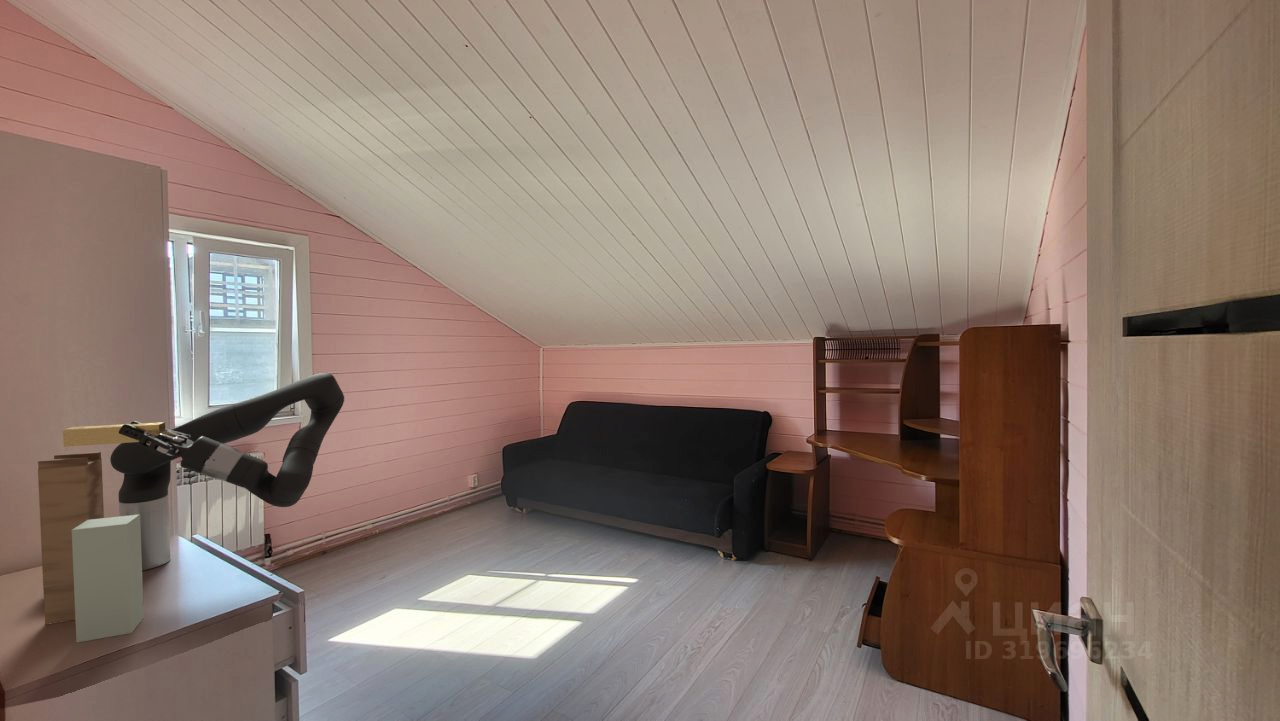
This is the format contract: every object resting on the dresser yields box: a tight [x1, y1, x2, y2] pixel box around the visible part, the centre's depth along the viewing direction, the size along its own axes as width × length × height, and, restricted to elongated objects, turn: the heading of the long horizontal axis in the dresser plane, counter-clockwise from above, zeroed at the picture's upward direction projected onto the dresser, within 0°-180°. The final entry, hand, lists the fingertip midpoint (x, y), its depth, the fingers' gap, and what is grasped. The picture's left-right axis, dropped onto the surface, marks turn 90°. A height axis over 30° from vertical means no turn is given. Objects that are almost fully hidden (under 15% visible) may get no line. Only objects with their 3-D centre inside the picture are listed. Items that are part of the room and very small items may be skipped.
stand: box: [37, 451, 105, 625], centre depth 112 cm, size 7×7×34 cm
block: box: [72, 514, 145, 644], centre depth 106 cm, size 6×8×22 cm
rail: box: [62, 421, 166, 448], centre depth 114 cm, size 4×15×4 cm, turn 115°
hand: (126, 426), depth 114 cm, fingers closed on rail, 3 cm apart
